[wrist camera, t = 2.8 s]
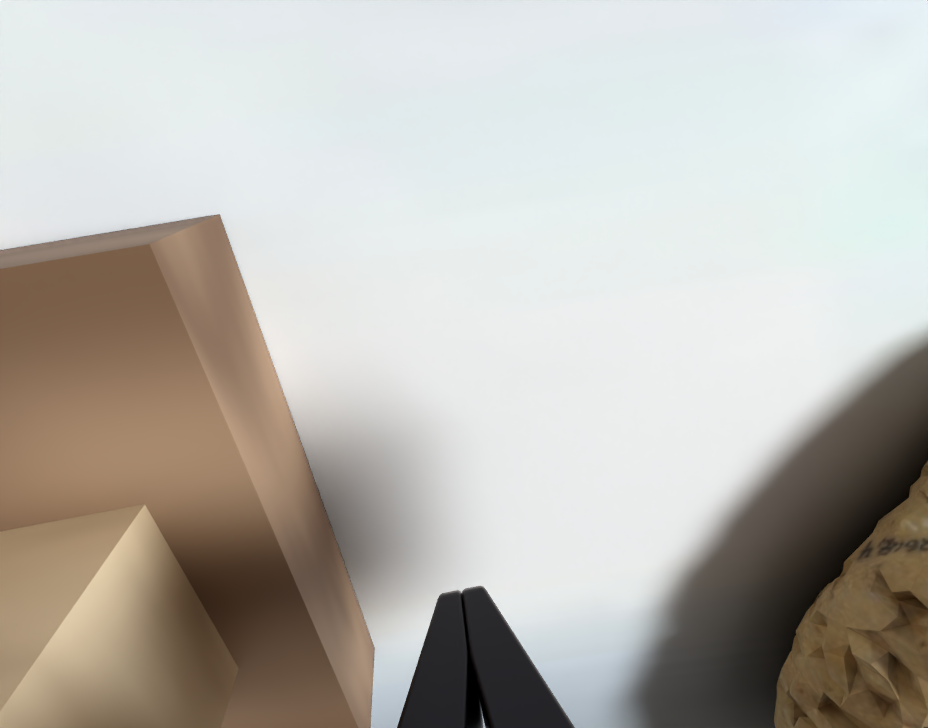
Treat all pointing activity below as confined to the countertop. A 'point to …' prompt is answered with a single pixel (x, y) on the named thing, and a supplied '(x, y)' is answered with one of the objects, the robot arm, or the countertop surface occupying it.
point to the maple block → (105, 629)
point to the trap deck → (181, 451)
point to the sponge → (866, 634)
